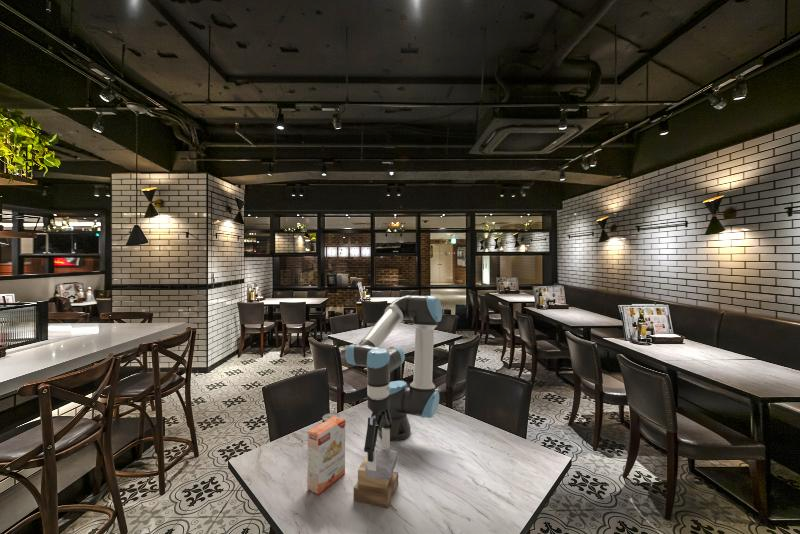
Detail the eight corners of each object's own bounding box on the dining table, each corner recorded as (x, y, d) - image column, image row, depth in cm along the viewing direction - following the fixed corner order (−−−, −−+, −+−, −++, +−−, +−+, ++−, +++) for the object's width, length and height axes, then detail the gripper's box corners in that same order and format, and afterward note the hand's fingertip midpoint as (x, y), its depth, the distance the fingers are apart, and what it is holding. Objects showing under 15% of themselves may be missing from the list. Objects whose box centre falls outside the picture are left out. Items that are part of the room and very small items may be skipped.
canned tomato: (343, 437, 150) (342, 413, 150) (336, 446, 142) (336, 421, 142) (326, 435, 151) (326, 412, 151) (319, 445, 143) (319, 420, 143)
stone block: (364, 483, 106) (393, 479, 105) (361, 468, 107) (390, 464, 105) (373, 462, 118) (399, 459, 117) (370, 449, 118) (397, 445, 117)
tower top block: (366, 469, 119) (366, 456, 119) (392, 474, 116) (392, 460, 116) (357, 484, 111) (357, 469, 111) (386, 489, 108) (385, 474, 108)
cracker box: (319, 496, 112) (318, 435, 111) (306, 489, 115) (306, 430, 115) (346, 473, 123) (346, 418, 123) (334, 468, 127) (334, 414, 126)
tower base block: (367, 479, 121) (367, 466, 121) (398, 486, 117) (398, 472, 117) (353, 502, 109) (353, 487, 109) (387, 510, 106) (387, 494, 106)
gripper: (375, 413, 98) (376, 483, 98) (399, 383, 122) (400, 439, 122) (352, 410, 100) (353, 478, 100) (380, 381, 124) (381, 436, 124)
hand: (379, 457), depth 111 cm, fingers open, 13 cm apart
